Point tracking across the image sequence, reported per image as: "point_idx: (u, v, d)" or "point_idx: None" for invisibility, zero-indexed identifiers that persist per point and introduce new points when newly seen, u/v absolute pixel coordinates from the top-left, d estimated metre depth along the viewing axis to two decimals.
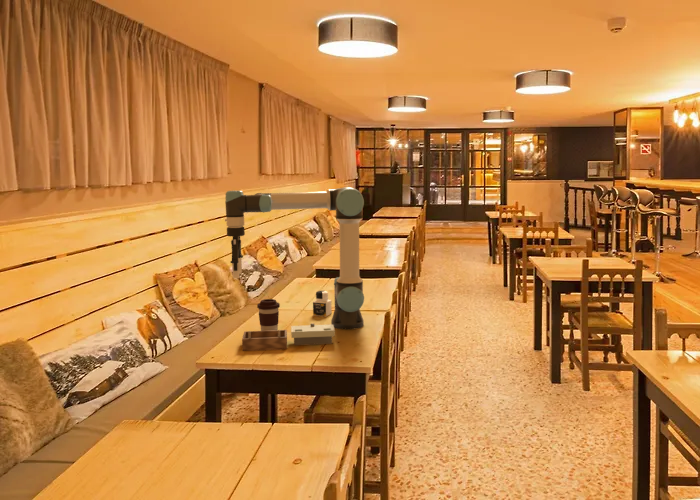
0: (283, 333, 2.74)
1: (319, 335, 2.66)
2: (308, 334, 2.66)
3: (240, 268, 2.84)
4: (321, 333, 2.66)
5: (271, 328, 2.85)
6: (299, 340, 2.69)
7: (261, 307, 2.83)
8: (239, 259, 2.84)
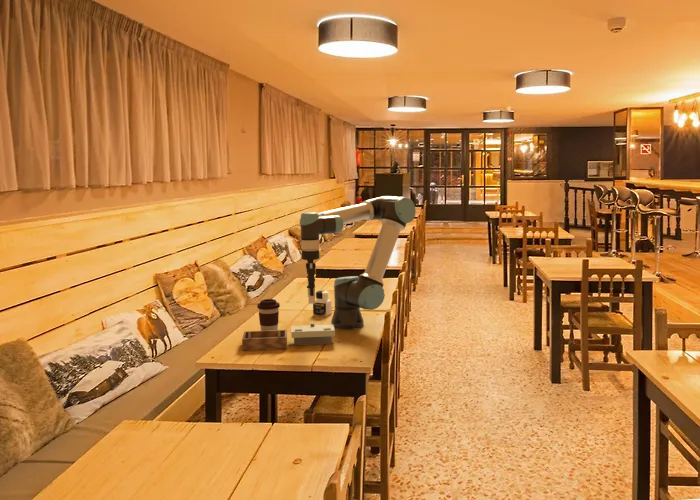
0: (283, 333, 2.74)
1: (319, 335, 2.66)
2: (308, 334, 2.66)
3: None
4: (321, 333, 2.66)
5: (271, 328, 2.85)
6: (299, 340, 2.69)
7: (261, 307, 2.83)
8: None
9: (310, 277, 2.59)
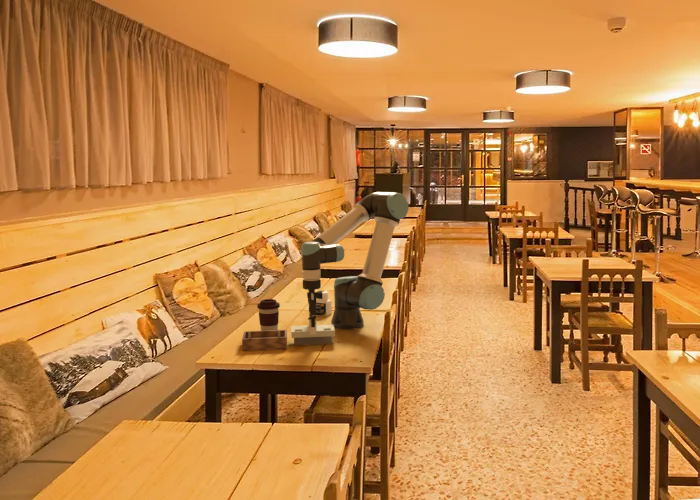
0: (283, 333, 2.74)
1: (319, 335, 2.66)
2: (308, 334, 2.66)
3: None
4: (321, 333, 2.66)
5: (271, 328, 2.85)
6: (299, 340, 2.69)
7: (261, 307, 2.83)
8: None
9: (311, 309, 2.62)
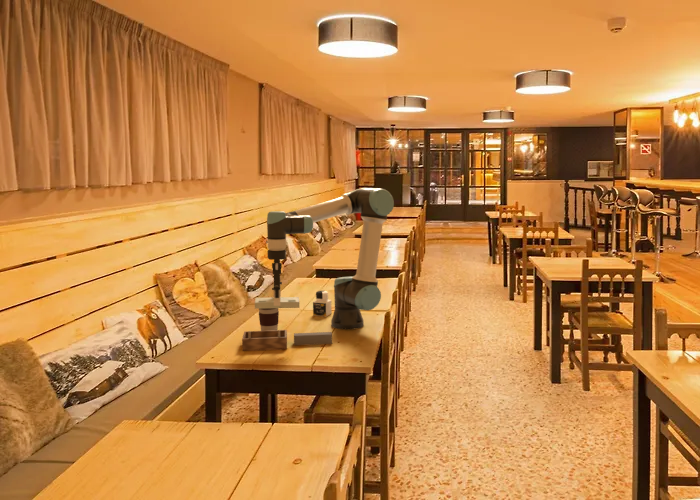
0: (283, 333, 2.74)
1: (283, 306, 2.60)
2: (272, 305, 2.59)
3: None
4: (286, 305, 2.60)
5: (271, 328, 2.85)
6: (299, 340, 2.69)
7: None
8: None
9: (275, 279, 2.55)
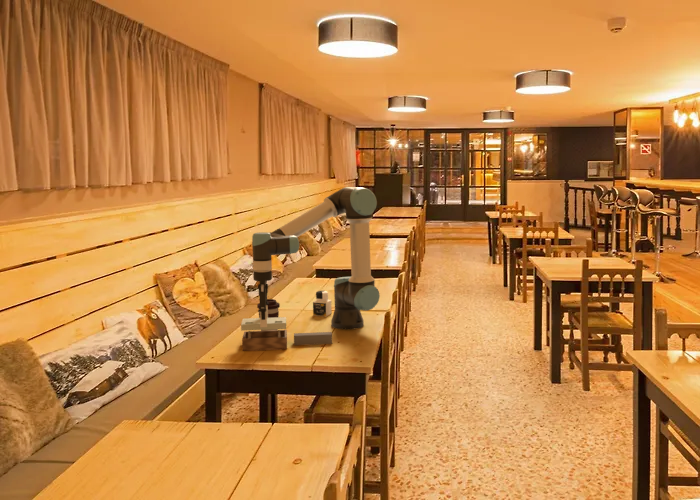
0: (283, 333, 2.74)
1: (270, 328, 2.60)
2: (258, 327, 2.59)
3: (266, 316, 2.69)
4: (272, 326, 2.60)
5: None
6: (299, 340, 2.69)
7: None
8: (265, 306, 2.68)
9: (261, 301, 2.55)
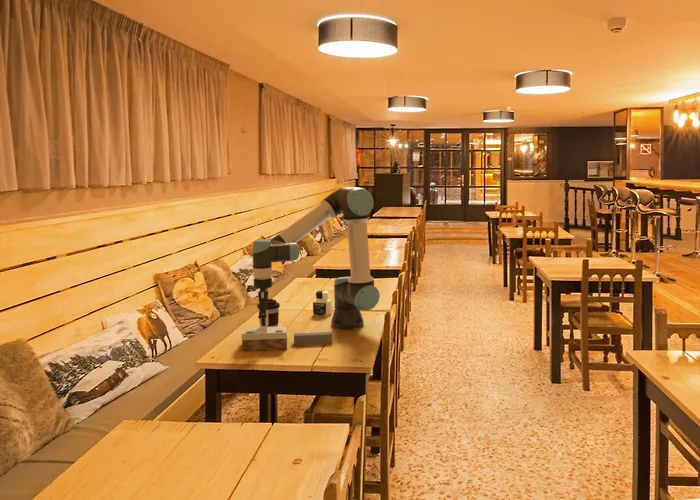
0: None
1: (270, 337, 2.60)
2: (259, 336, 2.60)
3: (266, 321, 2.70)
4: (273, 336, 2.60)
5: None
6: (299, 340, 2.69)
7: None
8: (265, 311, 2.70)
9: (261, 307, 2.55)
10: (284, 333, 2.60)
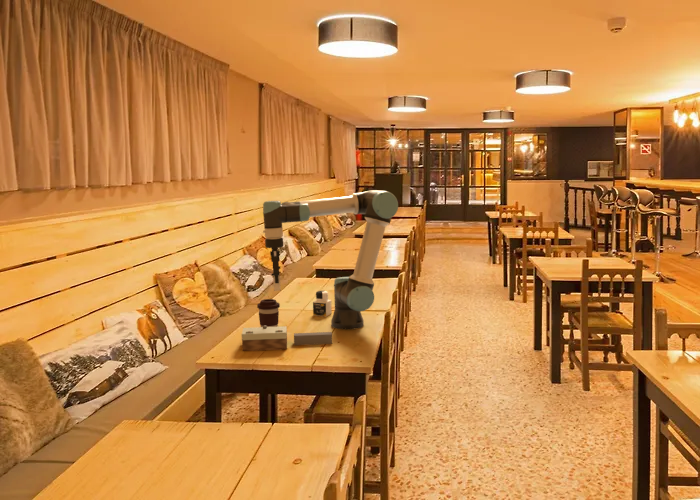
0: None
1: (270, 337, 2.60)
2: (259, 336, 2.60)
3: None
4: (273, 336, 2.60)
5: None
6: (299, 340, 2.69)
7: (261, 307, 2.83)
8: None
9: (274, 265, 2.62)
10: (284, 333, 2.60)
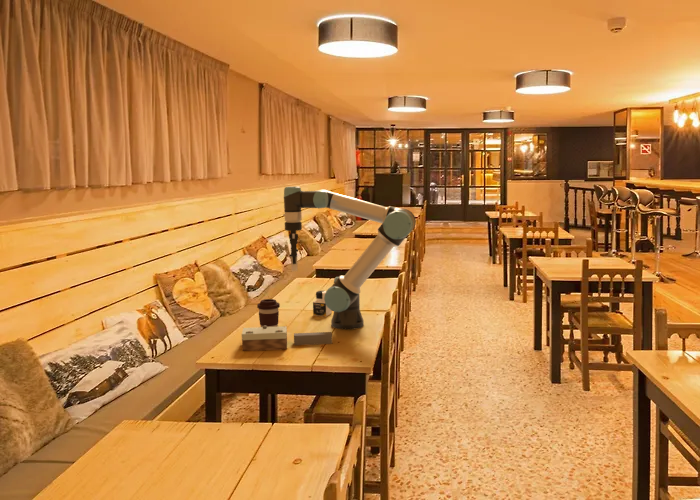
0: None
1: (270, 337, 2.60)
2: (259, 336, 2.60)
3: None
4: (273, 336, 2.60)
5: None
6: (299, 340, 2.69)
7: (261, 307, 2.83)
8: None
9: (292, 246, 2.78)
10: (284, 333, 2.60)
